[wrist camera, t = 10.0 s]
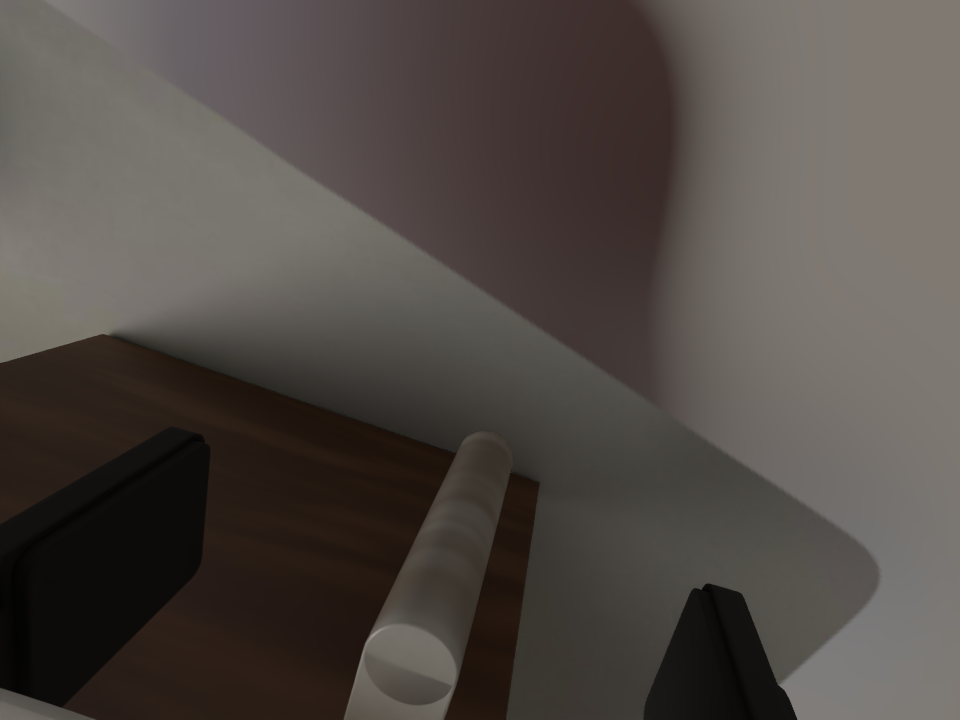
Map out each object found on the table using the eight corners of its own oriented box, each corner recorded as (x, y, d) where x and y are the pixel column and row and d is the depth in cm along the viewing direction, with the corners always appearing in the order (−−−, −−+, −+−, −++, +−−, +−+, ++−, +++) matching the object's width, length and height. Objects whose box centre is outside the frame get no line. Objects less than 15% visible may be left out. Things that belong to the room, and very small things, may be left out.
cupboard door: (111, 230, 31) (-1082, 312, 9) (576, 381, 29) (563, 983, 7) (101, 347, 33) (-885, 658, 11) (534, 496, 31) (419, 1250, 9)
